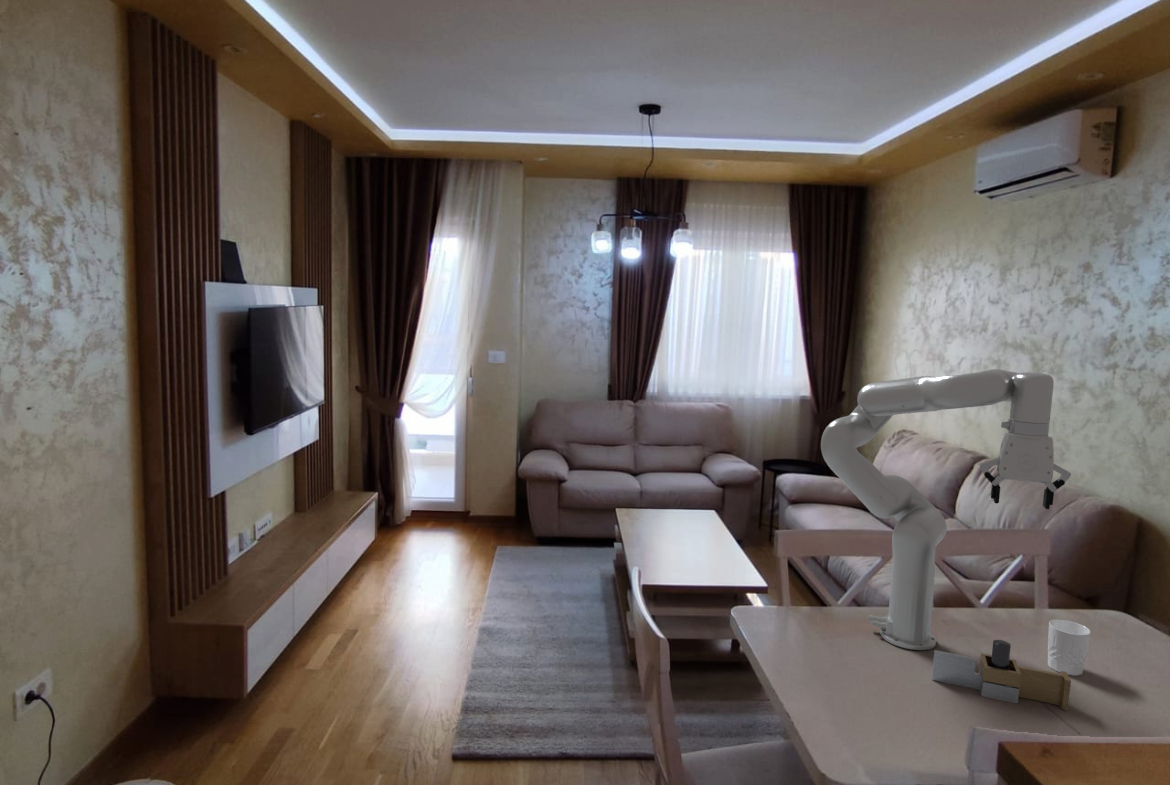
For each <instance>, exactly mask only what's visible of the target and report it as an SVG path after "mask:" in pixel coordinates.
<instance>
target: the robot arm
mask: <svg viewBox="0 0 1170 785" xmlns="http://www.w3.org/2000/svg"><path fill="white" fill-rule="evenodd" d="M1054 384H1055V382H1054V377H1052V376H1051V375H1050V374H1046V373H1039V372H1014V371H1009V370H1003V369H997V368H996V369H995V368H993V369H988V370H983V371H979V372H978V371H977V372H971V373H965V374H964V373H963V374H955V375H947V376H946V375H945V376H931V375H925V376H924V375H923V376H922V375H921V376H915V377H907V378H900V379H893V380H881V381H876V382H871V383H868V384H866V385H864V386H863V387H862V388H861V389H860V390H859V392H858V394H857V397H856V398H857V400H856V401H857V406H856V407H855V408H854V410H853V411H852V412H851V413H850V414H849V415H846V416H842V417H838V418H836V419H834V420H833V421H831V422H830V423H829V424H828V425H827V426H826V427H825V429H824V431H823V433H822V436H821V440H820V450H821V455H822V457H823V460H824V462H825V463H826V465H827V466H828V467H829V469H830V470H831V471H832V472H833V473H834V474H835V475H836V476H837V477H838V478H839V479H840V480H841V481H842V482H843V483H844V484H845V486H846V487H847V488H848V489H849V491H851V492H852V493H853V495H854V496H855V497H857V499H858V500H859V501H860V502H861V503H862V504H863V506H865V507H866V509H867V510H868V511H870V513H871V514H873V515H874V516H875V517H878V518H879V519H890V518H894V519H895V520H896V521H897V522H896V524H895V526H894V527H893V528H894V529H893V530H892V535H891V545H892V546H891V549H892V562H891V563H892V564H891V565H892V566H891V579H890V593H889V603H888V604H889V605H888V612H887V613H886V615H885V616H884V615H883V616H876V615H873V614H872V615H871V614H868V617H867V618H868V621H867V622H868V624H869V623H870V624H873V625H872V626H873V627H874V628H880V630H879V631H880V632H879V634H880V636H881V638H882V639H884V640H885V641H886V642H888V643H890V644H891V645H894V646H897V647H899V648H903V649H907V650H913V651H927V650H931V649H934V648H935V647H936V645H937V639H936V637H935V635H934V634H932V632H931V622H932V610H933V601H934V600H933V598H934V590H935V589H934V587H935V576H936V549H937V548H936V547H937V546H938V544H939V543H941V541H942V540H943V539H944V537H945V536H946V534H947V531H948V529H947V528H948V527H947V522H946V519H945V518H944V516H943V515H942V513H941V512H940V511H939V510H938V509H937V508H936V507H935V506H934V505H933V504H932V503H931V502H930V501H929V499H927V497H925V496H924V495H923V493H921V492H920V490H918V489H917V488H916V487H915V486H914V484H912V482H910V481H908V480H907V479H905V478H904V477H901V476H899V475H895V474H894V475H892V474H891V475H890V474H889V475H885V474H883V473H882V472H881V471H880V470H879V469H878V468H877V467H876V466H875V465H874V464H873V462H871V460H869V459H868V458H867V457H866V456H864V455H863V454H862V453H860V452H859V451H858V449H857V448H859V447H862V446H864V445H867V444H868V443H870V441H871V440H872V439H874V437H875V436H876V435H877V434H879V432H880V431H881V429H882V428H883V427H884V426H885V425H886V424H887V423H888V422H889V421H890V420H891V419H892V418H893V417H894V416H896V415H897V416H898V415H903V414H904V415H905V414H915V413H917V414H919V413H925V412H926V413H927V412H937V411H942V410H943V411H944V410H953V409H956V410H957V409H965V408H966V409H967V408H976V407H986V406H993V405H996V404H998V403H1003V402H1010V409H1009V418H1008V420H1007V421H1002V422H1001V425H1000V426H1001V429H1006V430H1007V432H1004V434H1003V437H1002V440H1001V444H1000V448H999V454H998V456H997V457H995V458H993V459H990V460H987V461H984V462H981V463H979V468H980V469H981V472H982V473H983V475H984V477H985V478H986V479H987V480H988V481H989V483H990V484H991V488H990V499H993V500H992V501H993V503H994V504H999V503H1000V497H1001V496H1000V495H1001V494H1000V493H1001V486H1000V484H1001V483H1002V482H1003V481H1004V480H1010V481H1019V482H1027V483H1028V482H1029V483H1038V484H1044V485H1045V487H1046V488H1044V490H1043V501H1042V506H1043V508H1045V510H1050V507H1051V506H1053V505H1054V496H1055V492H1057V490H1058V489H1060V488H1062V487H1063V486H1064V485H1065V484H1066V483H1067V481H1068V480H1069V479H1070V477H1071V476H1072V473H1071V472H1070V471H1068V470H1066V469H1065V468H1063V467H1061V466H1060V465H1057V464H1056V463H1054V460H1055V459H1054V458H1055V457H1054V456H1055V455H1054V452H1055V450H1054V439H1053V437H1052V436H1049V431H1050V422H1051V412H1052V404H1053V403H1052V402H1053V394H1054V393H1053V392H1054ZM995 466H997V467H996V468H997V469H996V470H997V473H996V474H995V475H992V473H990V470H989V468H991V467H995ZM1054 472H1056V473H1058V474H1060V476H1059V477H1058V478H1057V479H1056V480H1055V481H1053V482H1052V480H1053V477H1054Z"/></svg>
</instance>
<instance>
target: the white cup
mask: <svg viewBox="0 0 1170 785" xmlns="http://www.w3.org/2000/svg"><path fill="white" fill-rule="evenodd" d="M1047 633H1048V634H1047V635H1048V637H1047V665H1048V666H1049V668H1050V669H1051V670H1053V671H1055V672H1056V673H1059V674H1060V673H1061V671H1064V672H1067V674H1068V676H1080V675H1083V674H1084V666H1085V663H1086V660H1087V655H1088V648H1089V643H1090V637H1091V633H1092V632H1091V630H1090V628H1088V627H1087V626H1085V625H1083V624H1080V623H1077V622H1075V621H1071V620H1065V619H1051V620H1050V621H1048V632H1047Z"/></svg>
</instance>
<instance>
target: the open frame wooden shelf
mask: <svg viewBox="0 0 1170 785" xmlns="http://www.w3.org/2000/svg"><path fill="white" fill-rule="evenodd" d="M991 658H992V654H991V655H990V654H986V653H980V657H979V668H980V670H981V674H982V678H983V681H988V682H993V683H998V684H1003V685H1008V686H1013V687H1018V688H1019V697H1018V698H1023V699H1028V700H1032V701H1033V700H1034V701H1037V702H1042V703H1048V704H1052V705H1057V706H1060V707H1061V709H1062V710H1065V711H1068V710H1069V703H1070V702H1069V700H1070V692H1071V684H1072V680H1071V679H1070V675H1068V674H1067V672H1064V671H1061V673H1060V672H1053V671H1047V670H1042V669H1037V668H1032V667H1025V666H1021V665H1018V662H1017V661H1016V659H1013V658H1009V666H1008V670H1005V669H1000V668H994V667H991Z"/></svg>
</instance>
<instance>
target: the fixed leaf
mask: <svg viewBox="0 0 1170 785" xmlns="http://www.w3.org/2000/svg"><path fill="white" fill-rule="evenodd" d="M932 660H933V661H932V672H931V680H932V681H936V682H940V683H945V684H949V685H955V686H960V687H964V688H968V689H969V688H970V689H975V690H979V692H980V694H981V697H985V698H988V699H994V700H999V701H1003V702H1009V703H1014V704H1019V698H1020V697H1019V688H1018V687H1013V686H1008V685H1003V684H998V683H993V682H988V681H983V678H982V674H981V670H980V667H979V669H978V672H976V664H977V659H976V657H973V656H968V655H963V654H957V653H953V652H946V651H942V650H936V649H934V651H933V659H932Z"/></svg>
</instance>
